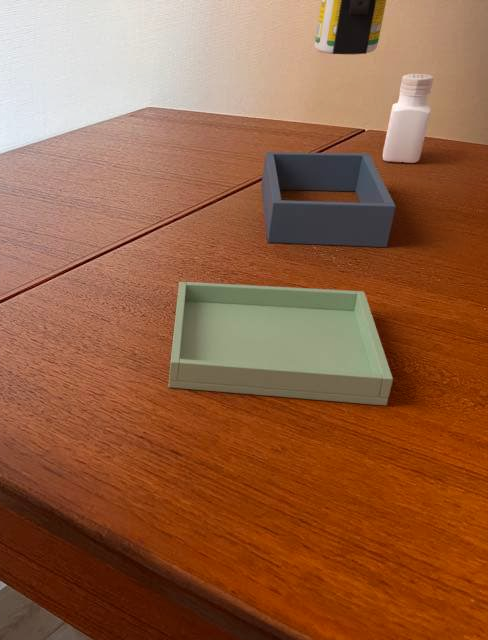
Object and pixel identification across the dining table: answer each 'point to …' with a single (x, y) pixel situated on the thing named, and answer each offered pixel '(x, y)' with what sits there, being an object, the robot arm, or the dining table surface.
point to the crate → (326, 217)
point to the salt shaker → (408, 120)
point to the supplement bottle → (330, 20)
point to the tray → (278, 343)
